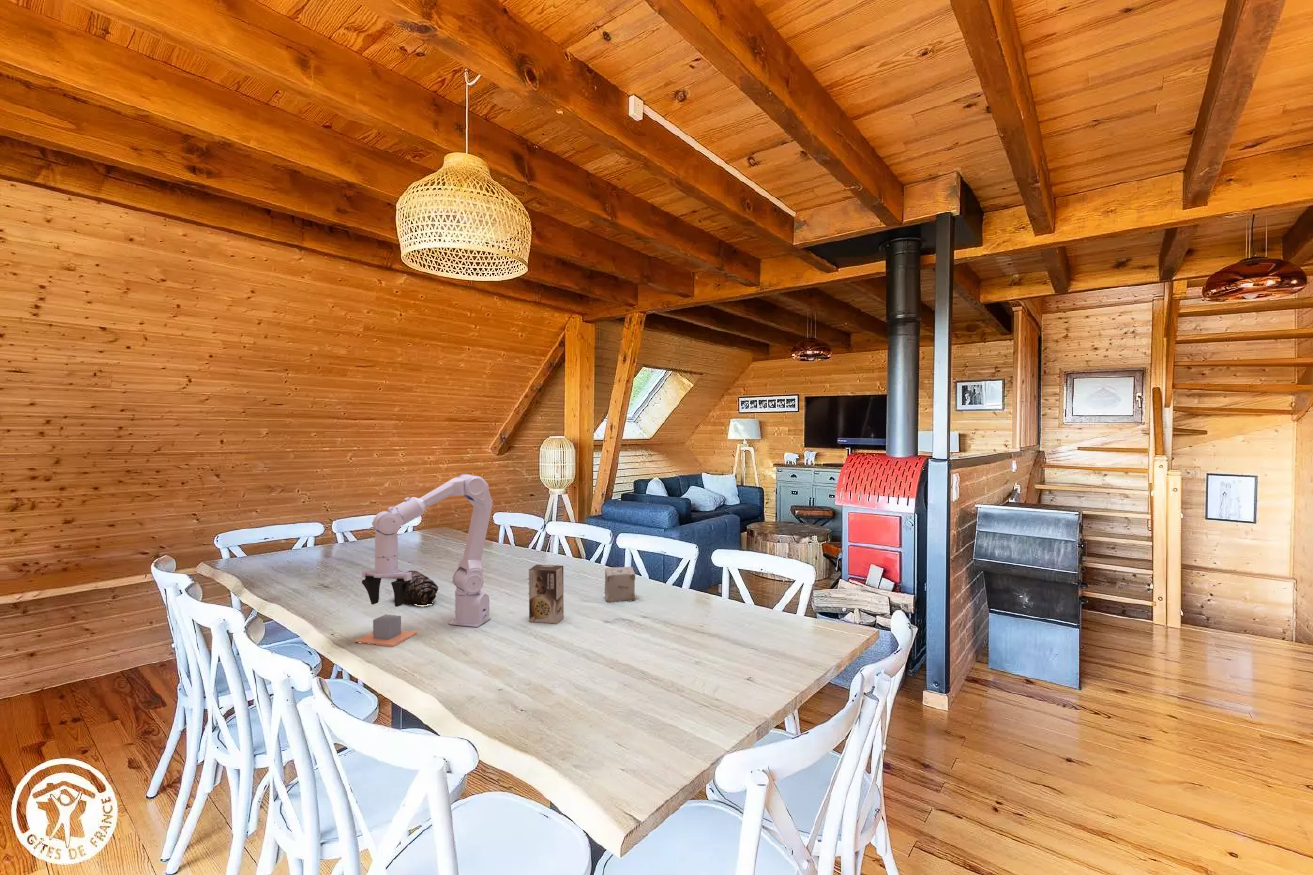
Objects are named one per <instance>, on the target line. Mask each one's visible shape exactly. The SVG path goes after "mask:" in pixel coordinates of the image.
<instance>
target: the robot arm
mask: <svg viewBox="0 0 1313 875" xmlns="http://www.w3.org/2000/svg"><path fill="white" fill-rule="evenodd" d="M489 490H490V489H489V483H488V482H487V481H486V480H485V479H484V478H483V477H481V476H479V475H471V474H468V473H462V474H460V475H458V477H457V476H456V477H453V478H451V479H450V480H448V481H447V482H445V483H443V484H441V485H439V486H438V487H436V488H434V489H432V490H431V491H429V492H428V493H426V494H424V495H423V496H421V497H415V496H412V497H409V496H407V497H405V498H404V499H403V500H404V501H403V502H401V503H398V504H396V505H395V506H389V507H388V508H387V509H388V510H387V511H386V510H385V511H380V512H378V513H377V514H376V515H375V517H374V518H373V521H372V522H371V525H372V528H373V529H374V530H375V532H374V534H375V535H374V536H375V537H374V538H375V539H374V568H365V569H362V570H361V578H364V579H363V580H361V583H362V585H363V587H364V589H365V590H366V592H367V594H368V597H369V601H370V604H371V605H375V604H378V603H379V600H380V587H381V581H382V579H385V580H386V579H387V580H393V581H391V583H390V584H391V587H392V590H393V597H394V599H393V601H394V603H393V604H394V607H400V606H402V605H403V603H402V602H403V598H404V595H405V592H406V590H407V587H408V586H409V584H410V582H411V579H412V572H407V571H405V570H403V569H402V570H400V569H399V561H398V560H399V556H398V555H399V552H398V551H399V546H398V544H399V543H398V542H399V538H398V531H399V530H400V528H401V526H405V525H406V524H409V523H410V522H411V521H414V520H415V519H416V518H419V517H420V516H422V515H424V513H425V511H426V509H427V508H428V507H431V506H432V505H434V504H436V503H438V502H441V501H443V500H445V499H447V498H449V497H451V496H463V497H465V498H466V499H467V500H468V501H469V503H470V504H471V505H472V507H473V509H472V513H471V519H470V522H469V527H468V531H467V537H466V541H465V542H466V543H465V547H464V550H463V557H462V559H461V560H460V561H459V563H457V564H458V565H457V567H456V570H455V571H454V572H453V575H452V582H453V585H454V587H456V588H455V592H454V593H455V594H454V596H455V597H454V601H455V602H454V605H455V606H454V617H455V618H454V619H453V620H451V621H450V622H448V625H452V626H461V627H462V626H463V627H475V628H477V627H480V626H482V625H483V624H485V623H486V622H488V621H490V619H491V616H490V596H489V595H488V594H487V593H484V592H483V591H482V589H483V587H484V582H485V581H484V577H483V573H484V572H483V571H484V567H483V565H482V557H483V552H484V548H485V542H486V539H487V533H488V527H489V523H490V520H491V514H492V509H493V500H492V496H491V492H490V491H489ZM396 580H397V581H396Z"/></svg>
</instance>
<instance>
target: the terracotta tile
mask: <svg viewBox="0 0 1313 875" xmlns="http://www.w3.org/2000/svg"><path fill="white" fill-rule="evenodd" d="M415 634H416V635H418V632H417V631H411V630H402V629H401V634H399V635H397V636H395V637H394V638H392V639H390V640H385V639H376V638H373V631H372V632H370V633H368V634H365V635H364V636H362V637H359V638H357V639H355V640H354V643H355V642H361V643H360V644H362V643H369V644H368V645H371V644H376V645H375V646H380V645H383V646H382V647H388V646H389V648H390V647H391V648H394V647H396V646H397V645H399V644H401V642H402V643H404V642H405V641H407V640H409V639H411V638H412V637H411V636H413V635H415ZM416 635H415V636H416ZM410 637H411V638H410ZM413 637H414V636H413ZM408 638H409V639H408Z"/></svg>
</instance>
